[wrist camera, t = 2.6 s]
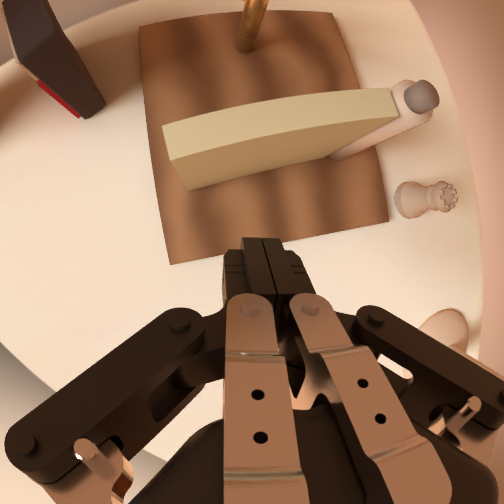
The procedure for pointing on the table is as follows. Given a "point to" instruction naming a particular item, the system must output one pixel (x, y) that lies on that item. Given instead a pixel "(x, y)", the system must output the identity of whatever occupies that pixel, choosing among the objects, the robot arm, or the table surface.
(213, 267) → the table surface
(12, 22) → the dark brown flat block
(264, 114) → the hinge
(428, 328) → the candlestick
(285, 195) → the board
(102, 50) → the table surface
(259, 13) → the plate
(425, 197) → the rook chess piece
